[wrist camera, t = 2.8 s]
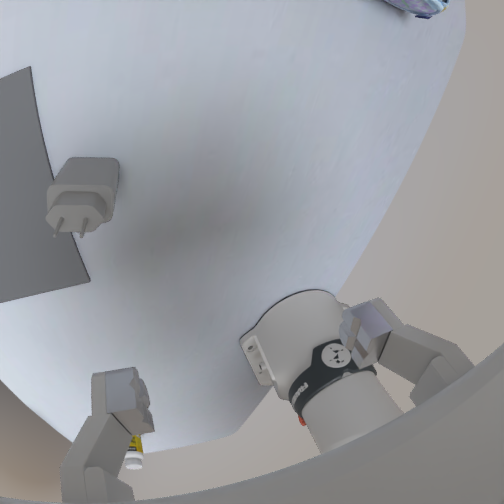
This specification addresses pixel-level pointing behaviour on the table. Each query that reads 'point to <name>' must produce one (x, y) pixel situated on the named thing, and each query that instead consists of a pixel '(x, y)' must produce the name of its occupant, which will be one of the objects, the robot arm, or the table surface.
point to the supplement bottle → (134, 453)
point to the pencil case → (421, 6)
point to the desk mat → (29, 202)
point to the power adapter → (82, 195)
